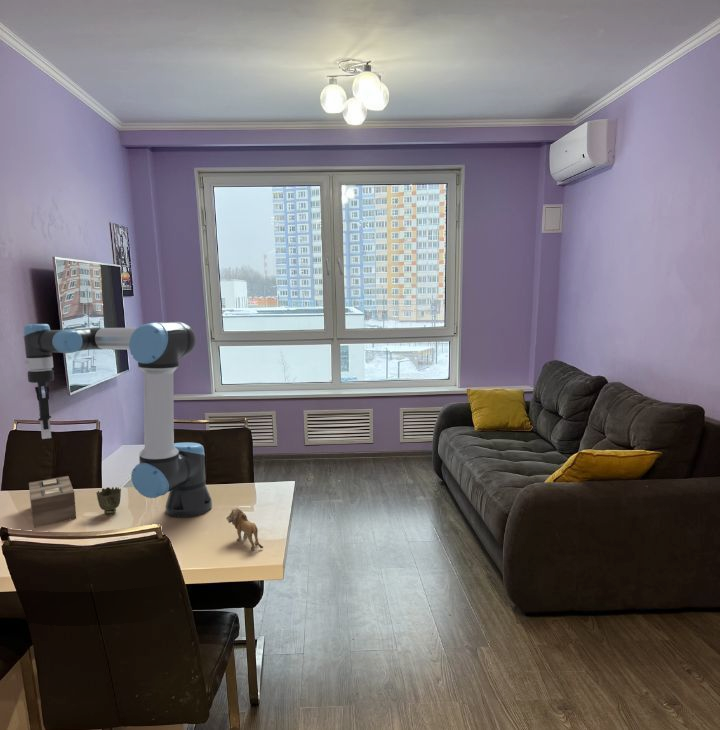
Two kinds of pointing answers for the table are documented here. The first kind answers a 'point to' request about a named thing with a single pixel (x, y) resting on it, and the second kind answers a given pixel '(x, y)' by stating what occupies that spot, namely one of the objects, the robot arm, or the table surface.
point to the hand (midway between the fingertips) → (46, 438)
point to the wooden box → (52, 501)
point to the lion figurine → (243, 526)
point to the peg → (49, 482)
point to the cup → (109, 499)
